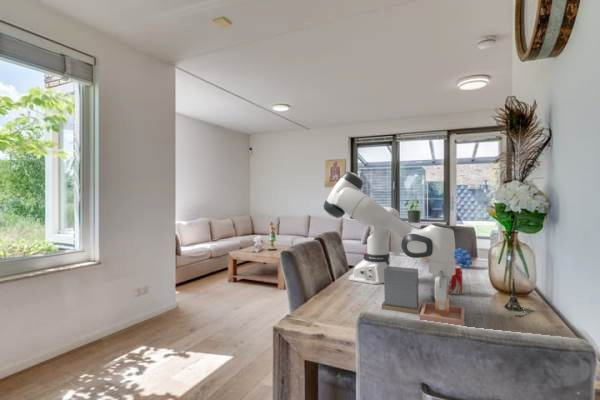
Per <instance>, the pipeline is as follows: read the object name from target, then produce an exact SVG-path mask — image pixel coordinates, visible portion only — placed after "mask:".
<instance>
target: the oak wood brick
mask: <svg viewBox="0 0 600 400" xmlns="http://www.w3.org/2000/svg"><path fill="white" fill-rule="evenodd" d="M450 297H451V294H449V293H448V294H447V300H446V302H445V309H444V310H441V309H439V302H438V301H436V300H435V302H434V304H435V313H437V314H444V315H449V313H450V306H451V304H450V302H451V301H450V299H451V298H450Z"/></svg>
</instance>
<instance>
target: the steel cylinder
mask: <svg viewBox="0 0 600 400" xmlns="http://www.w3.org/2000/svg"><path fill="white" fill-rule="evenodd" d="M430 301H432V303H435V286H432V287H430Z"/></svg>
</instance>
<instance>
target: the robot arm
mask: <svg viewBox="0 0 600 400" xmlns="http://www.w3.org/2000/svg"><path fill="white" fill-rule="evenodd" d="M363 186H364V182H363V180H362V178H361V177H360V176H359V175H358V174H357V173H354V172H351V171H346V172H344V173H343V174H342V175H341V176H340V179H338V181H337V182H336V183H335V184H334V186H333V187H332V190H331V191H330V194H328V197H327V199H326V200H325V201H324V204H323V210H324V211H325V213H326V214H327V215H329V216H330V217H332V218H337V219H339V218H342V217H343V216H344V215H345V214H347V215H348V216H349V217H351V218H352V219H353V220H355V221H357V222H358V223H359V224H360V225H363V226H366V227H372V228H373V231H372V233H371V234H370V235H369V236H368V237H367V239H366V245H367V246H366V247H367V248H366V252H364V254H363V260H362V261H360V262H358V264H356V265H355V266H354V269H353V273H351V274H350V275H349V276H348V280H349V281H352V282H353V281H354V282H358V283H364V284H370V285H379V284H380V285H381V284H384V269H385V268H386V267H387V266H390V267H391V265H390V264H391V255H390V247H389V245H390V238H391V237H390V236H391V234H392V233H394V234H396V235H397V236H399V237H400V238H402V240H401V249H402V251H403V253H404V255H406V256H407V257H409V258H412V259H420V258H428V273H429V274H431V275H432V278H433V279H434V287H435V300H436V301H438V302H439V309H441V310H444V309H445V302H446V300H447V294H448V295H449V293H448V286H449V280H450V279H451V278H452V276H453V275H455V265H456V262H455V260H456V259H455V258H454V254H455V252H454V251H455V249H456V240H455V239H456V238H455V232H454V230H453V228H452V227H451V226H450V225H447V224H443V223H435V222H434V223H430V224H429V225H427V226H425V227H423V228H421V227H417V226H414V225H412V224H410V223H408V222H406V221H405V220H403V219H402V218H401V217H400V216H401V215H400V213H399V211H398V209H396V208H395V207H391V206H384V205H381V204H380V203H378V202H377V201H376V200H374V199H373V198H372V197H370V196H369V195H367V194H366V193H364V192H362V191H361V190H362V188H363Z"/></svg>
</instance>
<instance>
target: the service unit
mask: <svg viewBox="0 0 600 400" xmlns="http://www.w3.org/2000/svg"><path fill="white" fill-rule="evenodd" d="M383 286H384V300H383V302H382V304H381V309H382V310H388V311H395V312H401V313H409V314H413V315H414V314H415V315H420V312H421V310H422V307H423V302H422V301H420V299H419V297H420V296H419V268H412V267H401V266H400V267H399V266H391V265H390V266H387V267H386V268H385V269H384V283H383Z"/></svg>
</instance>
